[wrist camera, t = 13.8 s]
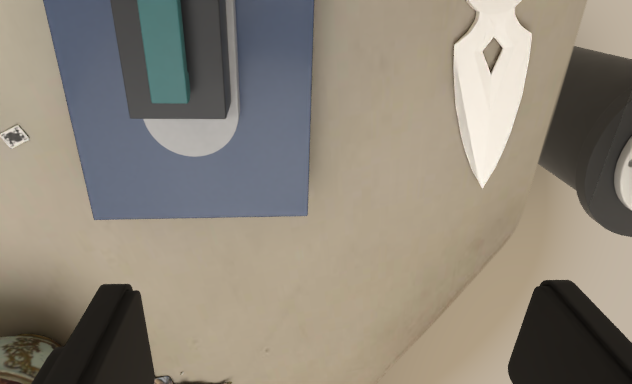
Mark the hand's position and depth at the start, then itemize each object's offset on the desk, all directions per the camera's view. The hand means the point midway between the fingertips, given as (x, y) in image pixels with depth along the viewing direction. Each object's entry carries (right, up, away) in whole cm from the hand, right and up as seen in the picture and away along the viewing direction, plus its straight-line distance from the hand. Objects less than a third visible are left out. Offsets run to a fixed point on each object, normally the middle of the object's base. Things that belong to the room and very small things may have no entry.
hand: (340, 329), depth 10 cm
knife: (+13, +16, +22) cm, 30 cm away
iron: (-9, +13, +17) cm, 23 cm away
